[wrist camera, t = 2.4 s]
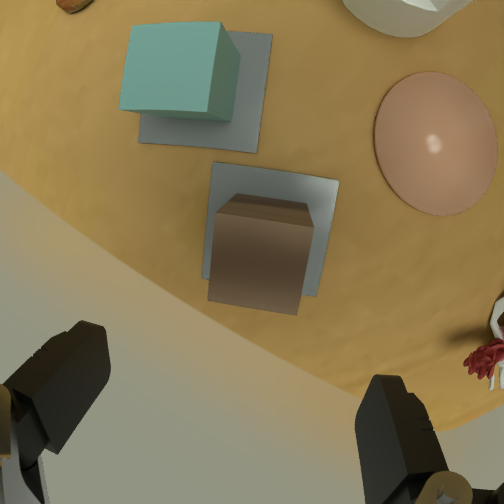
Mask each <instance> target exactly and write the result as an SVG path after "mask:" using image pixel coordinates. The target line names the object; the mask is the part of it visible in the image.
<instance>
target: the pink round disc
mask: <svg viewBox="0 0 504 504" xmlns="http://www.w3.org/2000/svg"><path fill="white" fill-rule="evenodd" d="M374 147H375V153H376V157H377V161H378V164H379V167H380V169H381V172H382V174H383V176H384V177H385V179H386V181H387V183H388V184H389V185H390V187H391V188H392V190H393V191H394V192H395V193H396V194H397V195H398V196H399V197H400V198H401V199H402V200H403V201H405V202H406V203H407V204H409V205H410V206H412V207H414V208H416V209H418V210H420V211H422V212H425V213H428V214H431V215H437V216H448V215H454V214H457V213H460V212H463V211H465V210H467V209H469V208H470V207H471V206H473V205H474V204H475V203H476V202H478V201H479V200H480V199H481V197H482V196H483V195H484V194H485V192H486V191H487V189H488V188H489V186H490V184H491V182H492V179H493V177H494V173H495V170H496V165H497V158H498V143H497V136H496V131H495V127H494V124H493V121H492V119H491V116H490V114H489V112H488V110H487V108H486V107H485V105H484V103H483V102H482V101H481V99H480V98H479V97H478V96H477V94H476V93H475V92H474V91H473V90H472V89H471V88H469V87H468V86H467V85H466V84H464V83H463V82H461V81H460V80H458V79H456V78H454V77H452V76H449V75H446V74H443V73H437V72H422V73H417V74H414V75H411V76H409V77H407V78H405V79H403V80H401V81H400V82H398V83H397V84H396V85H394V86H393V87H392V88H391V89H390V91H389V92H388V93H387V94H386V96H385V97H384V99H383V100H382V102H381V104H380V106H379V109H378V112H377V115H376V119H375V124H374Z"/></svg>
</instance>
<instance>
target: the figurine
mask: <svg viewBox="0 0 504 504" xmlns="http://www.w3.org/2000/svg"><path fill="white" fill-rule="evenodd" d="M503 312H504V297H502V298H500V299H499V300H497V301H496V302H495V306H494V309H493V313H492V317H491V320H490V326H491V328H492V331H493V334H494V336H495V339H494V340H493V341H491V342H490V343H489V344H487V345H486V346H480V347H478V348H477V350H476V351H474V352H473V354H472V353H471V354H470V355H469V357H468V358H467V359H465V361H464V363H463V365H464V367H465V366H469V369H468V373H469V374H470V375H472V374H473V373H474V372H476V373H478V379H482V378H483V377H484V376H485V375H487V377H488V379H490V385H489V388H488V389H489V390H493V386H494V379H495V377H494V367H495V364H497V365H498V366H500V368H499V379H500V381H499V382H500V387H499V389H502V388H504V327H500V326H499V325H498V323H497V320H498V318H499V316H500V315H501V314H502V313H503Z"/></svg>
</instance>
